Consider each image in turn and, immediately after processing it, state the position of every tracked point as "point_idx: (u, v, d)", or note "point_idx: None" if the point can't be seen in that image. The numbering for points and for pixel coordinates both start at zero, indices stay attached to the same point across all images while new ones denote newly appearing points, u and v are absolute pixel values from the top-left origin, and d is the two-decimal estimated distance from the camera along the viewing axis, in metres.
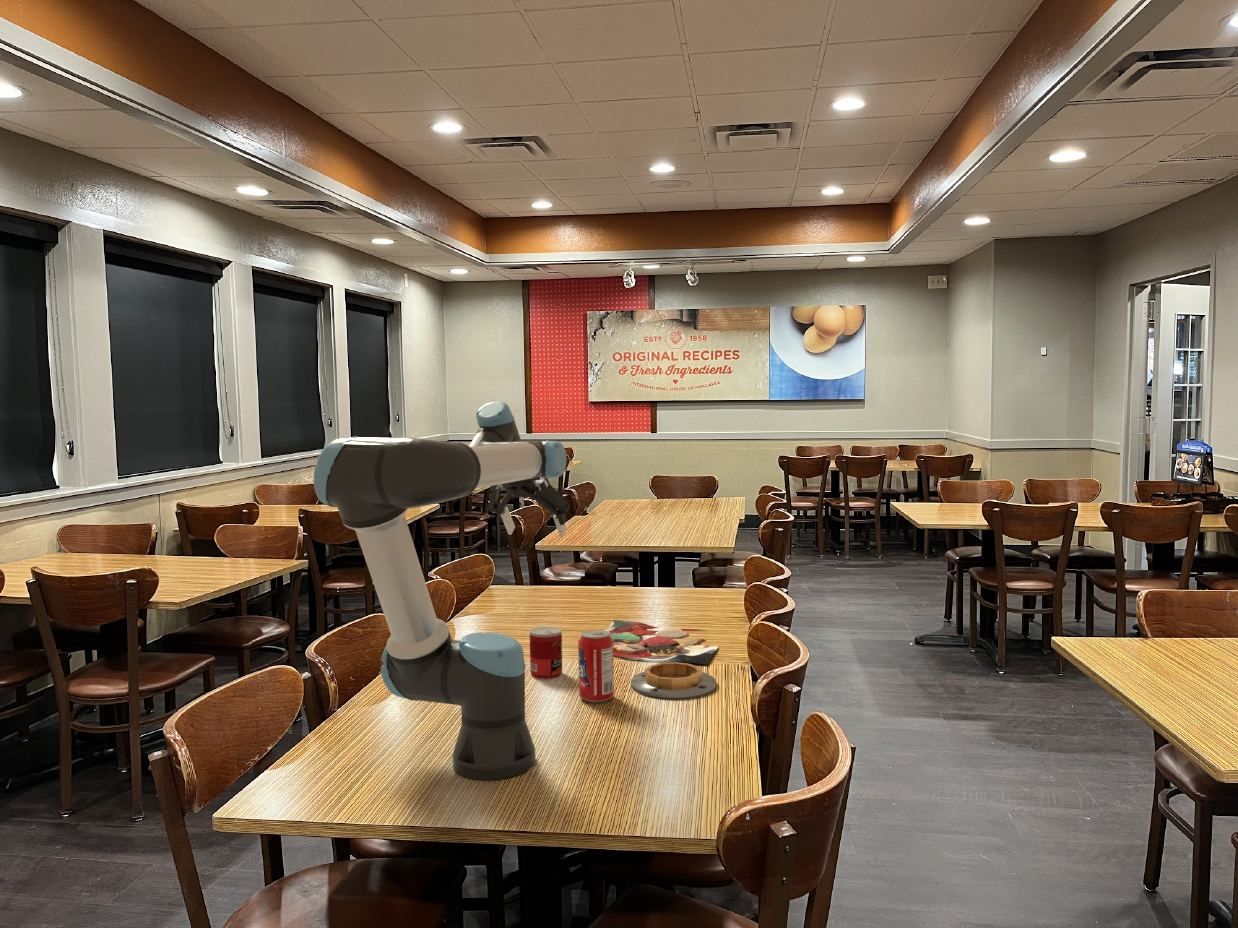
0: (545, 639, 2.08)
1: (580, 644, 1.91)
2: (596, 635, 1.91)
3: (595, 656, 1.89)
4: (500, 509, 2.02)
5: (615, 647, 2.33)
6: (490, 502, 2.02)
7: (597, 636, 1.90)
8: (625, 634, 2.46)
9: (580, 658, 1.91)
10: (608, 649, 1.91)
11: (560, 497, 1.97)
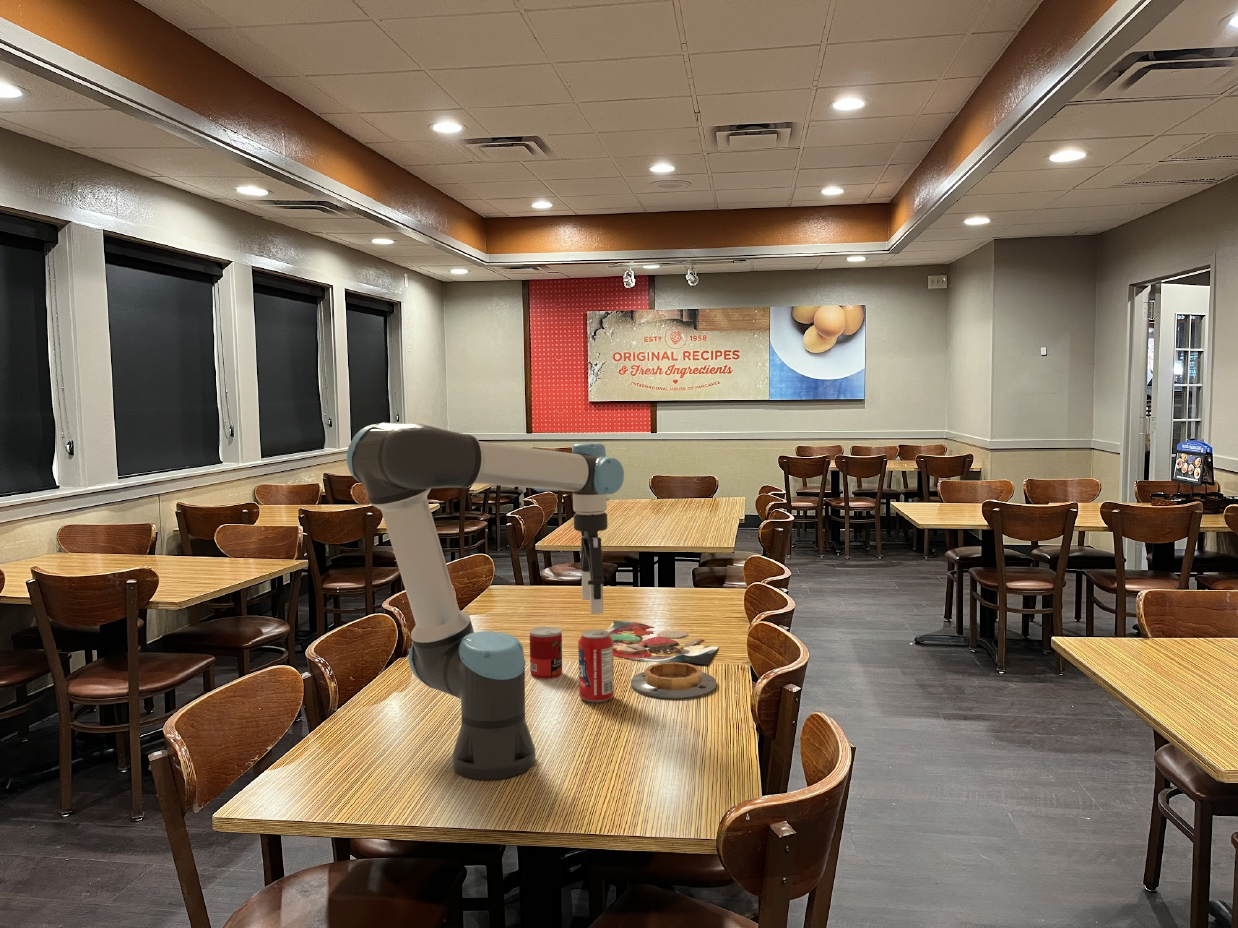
0: (545, 640, 2.08)
1: (580, 644, 1.91)
2: (596, 635, 1.91)
3: (595, 656, 1.89)
4: (582, 565, 1.99)
5: (615, 647, 2.33)
6: (581, 554, 2.01)
7: (597, 636, 1.90)
8: (625, 635, 2.46)
9: (580, 658, 1.91)
10: (608, 649, 1.91)
11: (600, 565, 1.84)
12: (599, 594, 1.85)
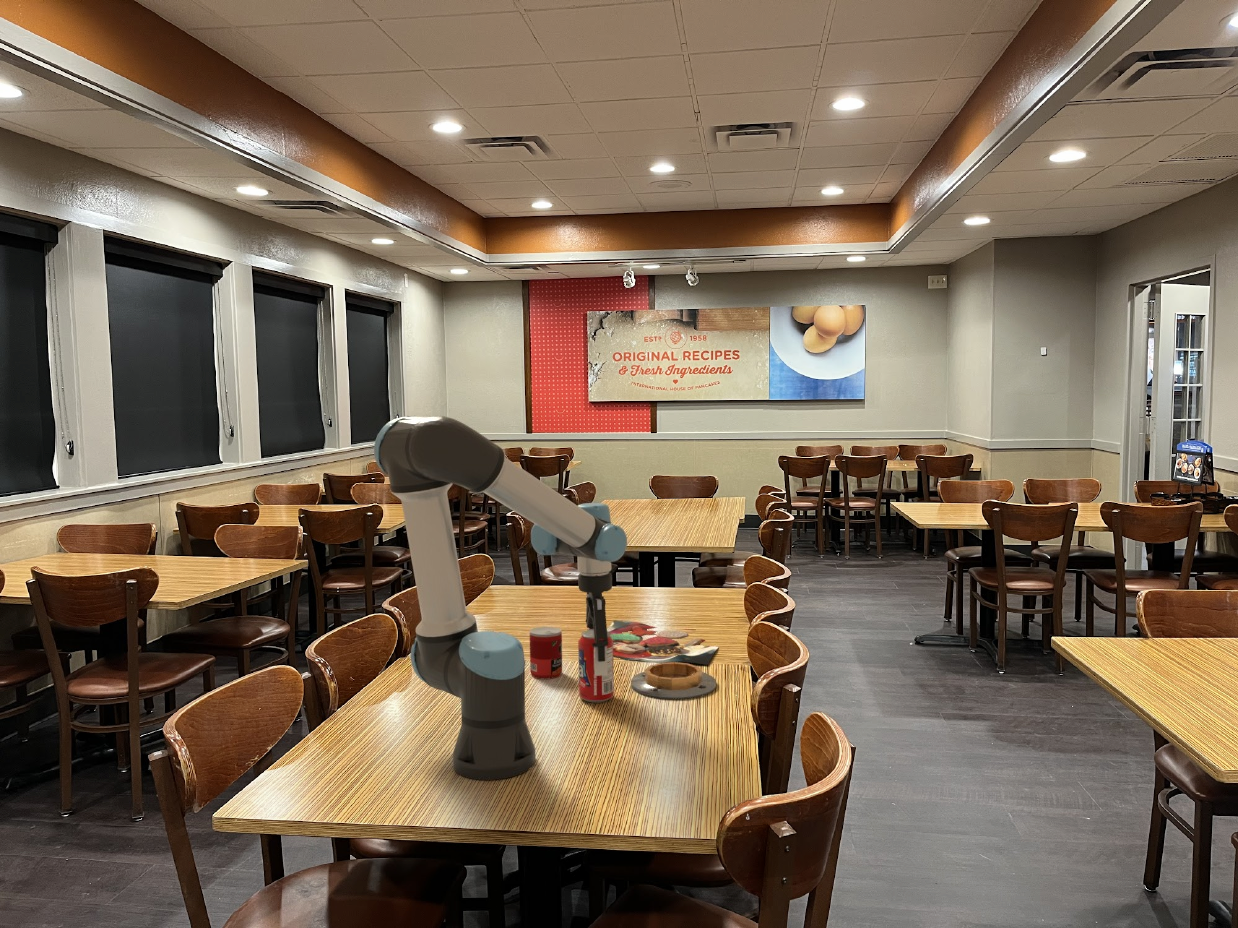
0: (545, 639, 2.08)
1: (580, 644, 1.91)
2: None
3: None
4: (587, 622, 2.00)
5: (615, 647, 2.33)
6: (586, 611, 2.01)
7: None
8: (625, 634, 2.46)
9: (580, 658, 1.91)
10: (608, 649, 1.91)
11: (604, 628, 1.84)
12: (603, 656, 1.85)
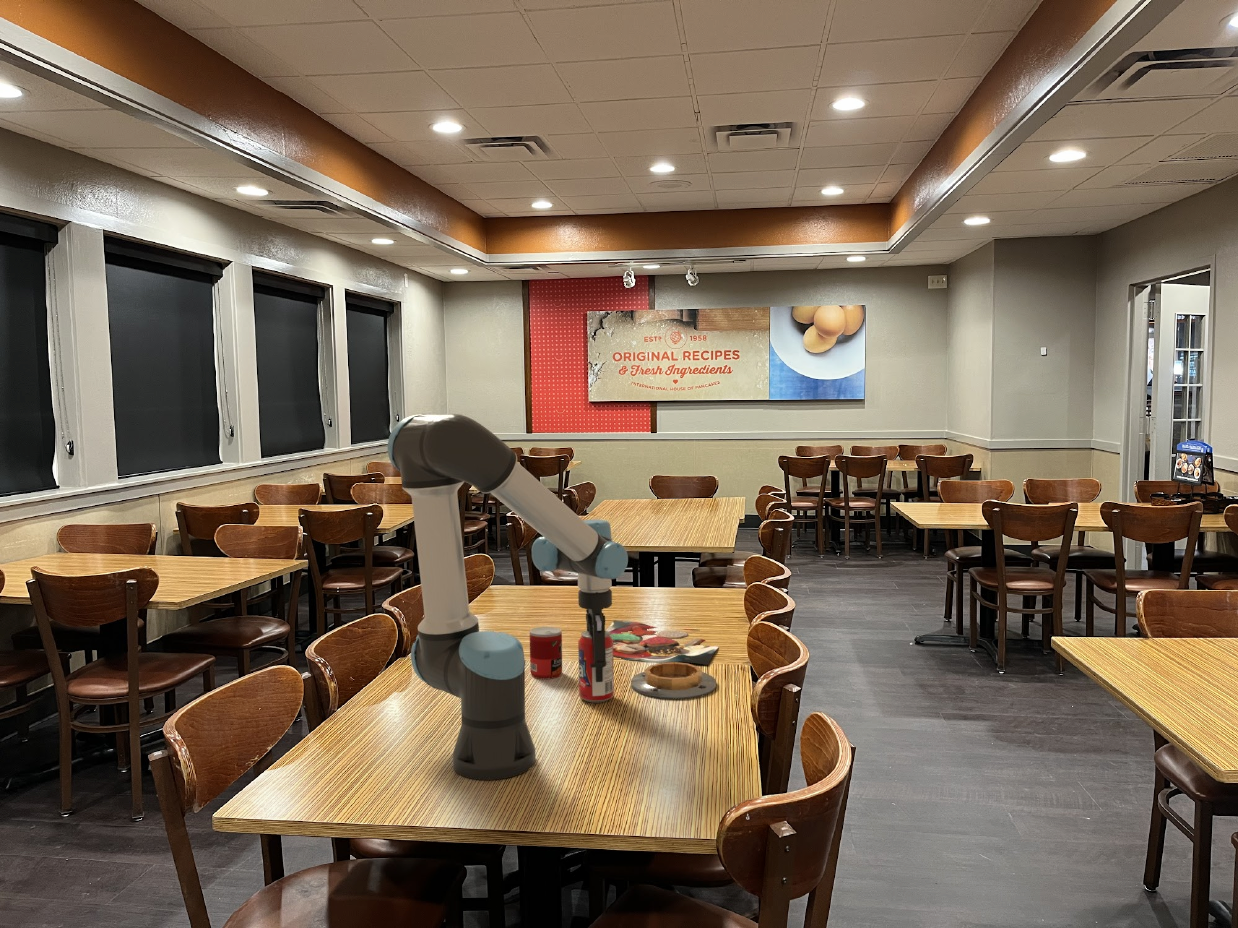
0: (545, 639, 2.08)
1: (580, 644, 1.91)
2: None
3: None
4: None
5: (614, 647, 2.33)
6: None
7: None
8: (625, 634, 2.46)
9: (580, 658, 1.91)
10: (608, 648, 1.90)
11: (603, 650, 1.86)
12: (601, 677, 1.88)
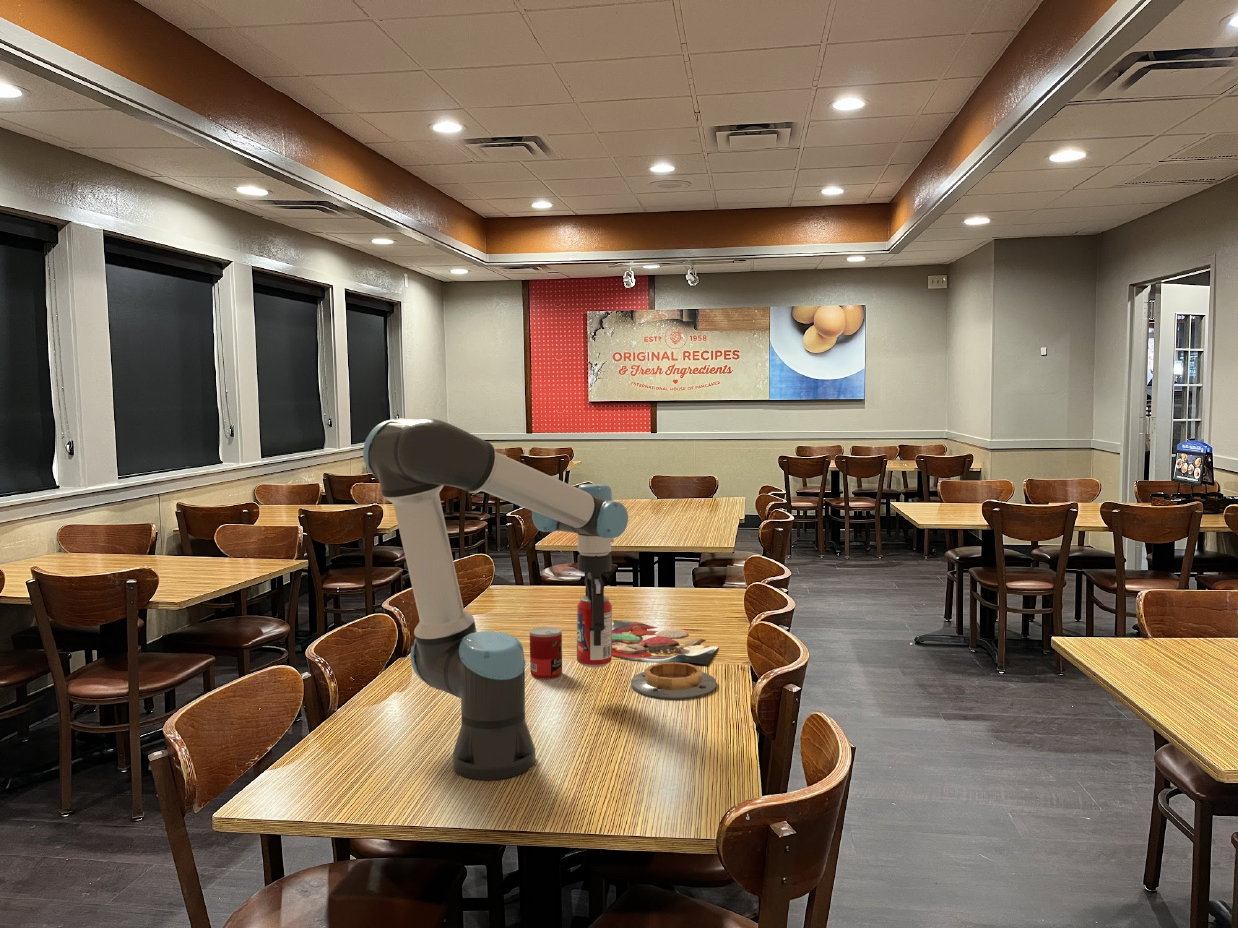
0: (545, 639, 2.08)
1: (579, 608, 1.90)
2: None
3: None
4: None
5: (614, 647, 2.32)
6: None
7: None
8: (625, 634, 2.46)
9: (578, 622, 1.91)
10: (607, 613, 1.90)
11: (601, 613, 1.85)
12: (599, 640, 1.87)
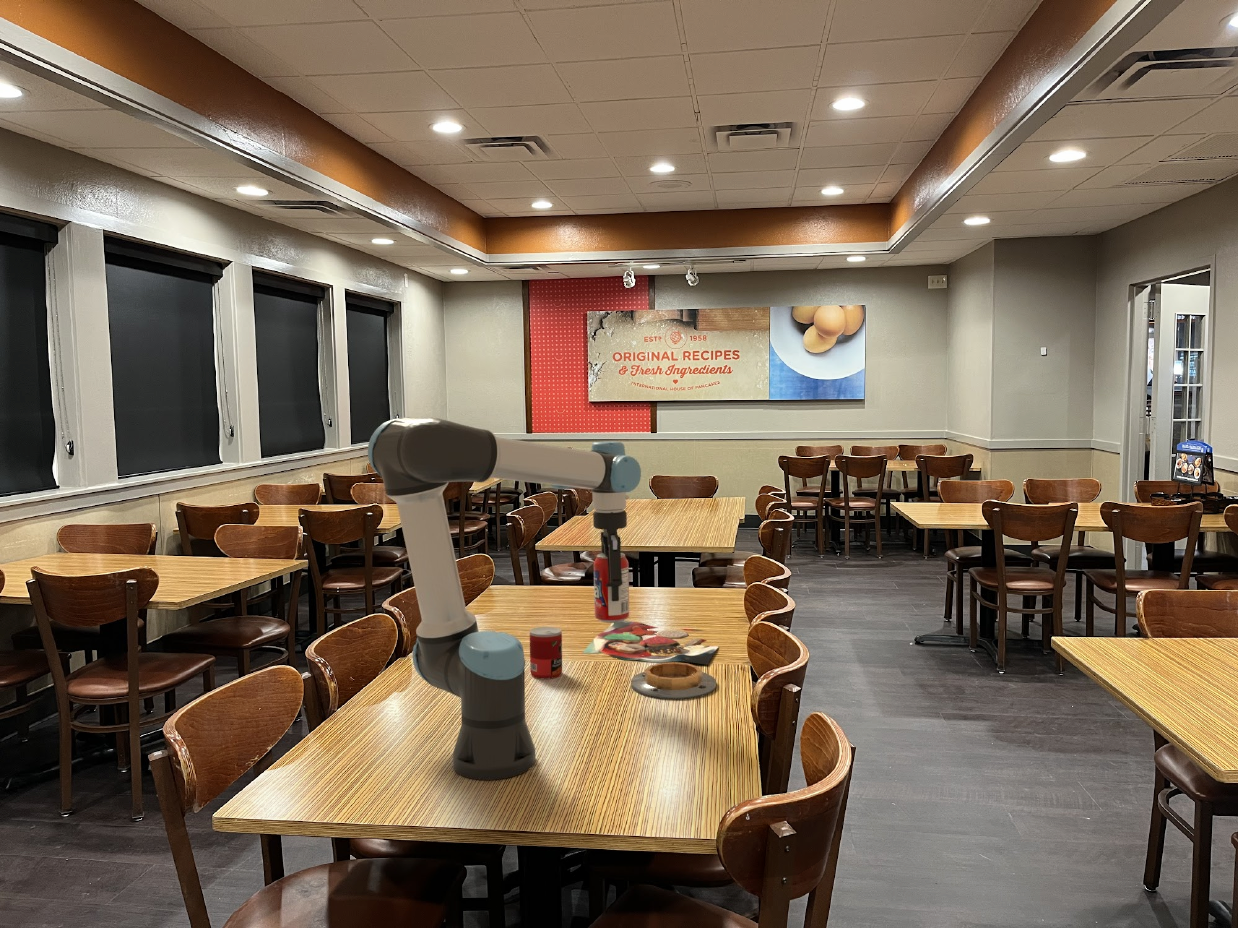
0: (545, 639, 2.08)
1: (596, 565, 1.92)
2: None
3: None
4: None
5: (614, 647, 2.32)
6: None
7: None
8: (625, 634, 2.46)
9: (596, 579, 1.92)
10: (624, 569, 1.91)
11: (619, 568, 1.87)
12: (617, 596, 1.89)
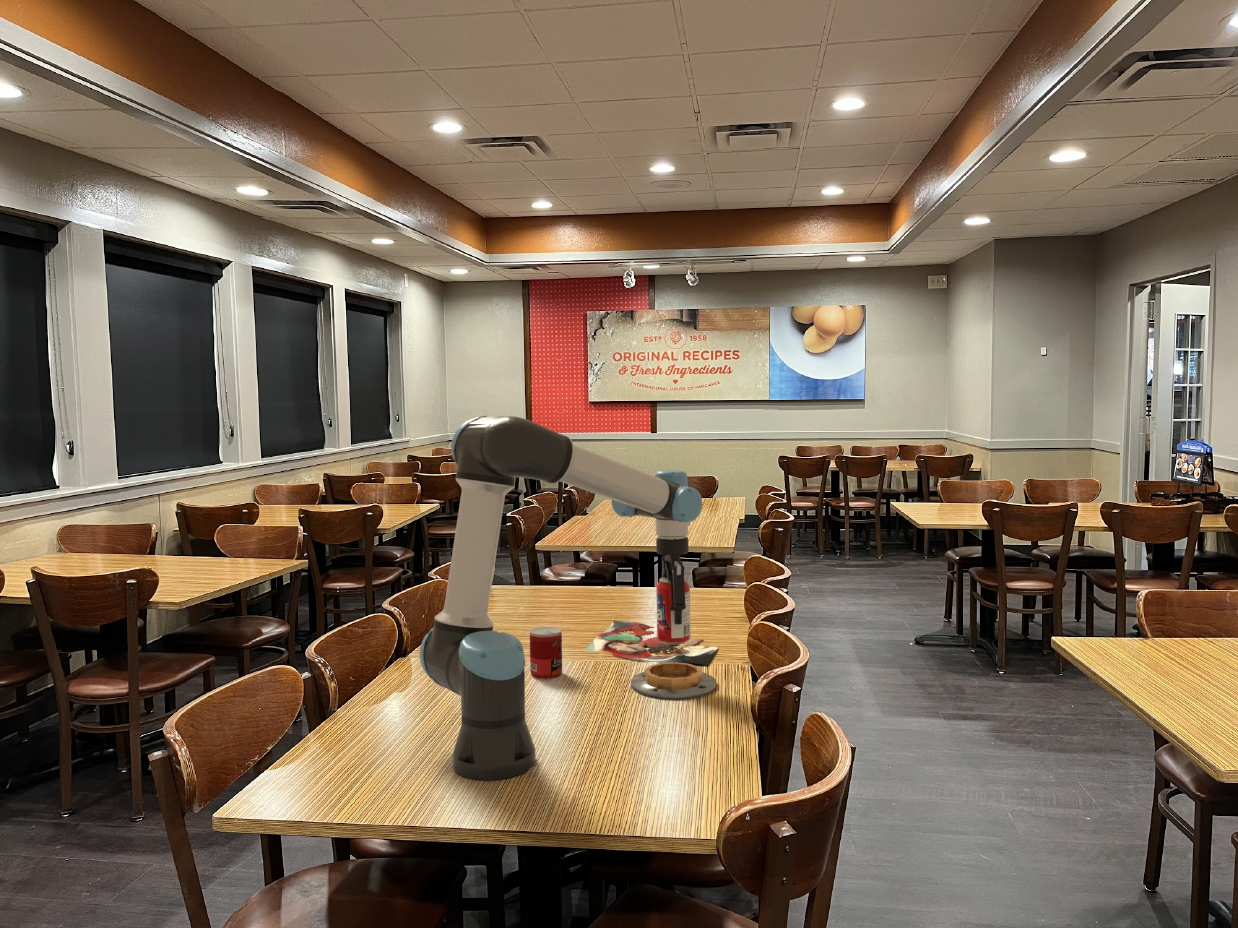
0: (545, 639, 2.08)
1: (659, 589, 1.99)
2: None
3: None
4: None
5: (614, 647, 2.32)
6: None
7: None
8: (625, 635, 2.46)
9: (659, 602, 2.00)
10: (686, 593, 1.99)
11: (682, 593, 1.94)
12: (680, 619, 1.96)
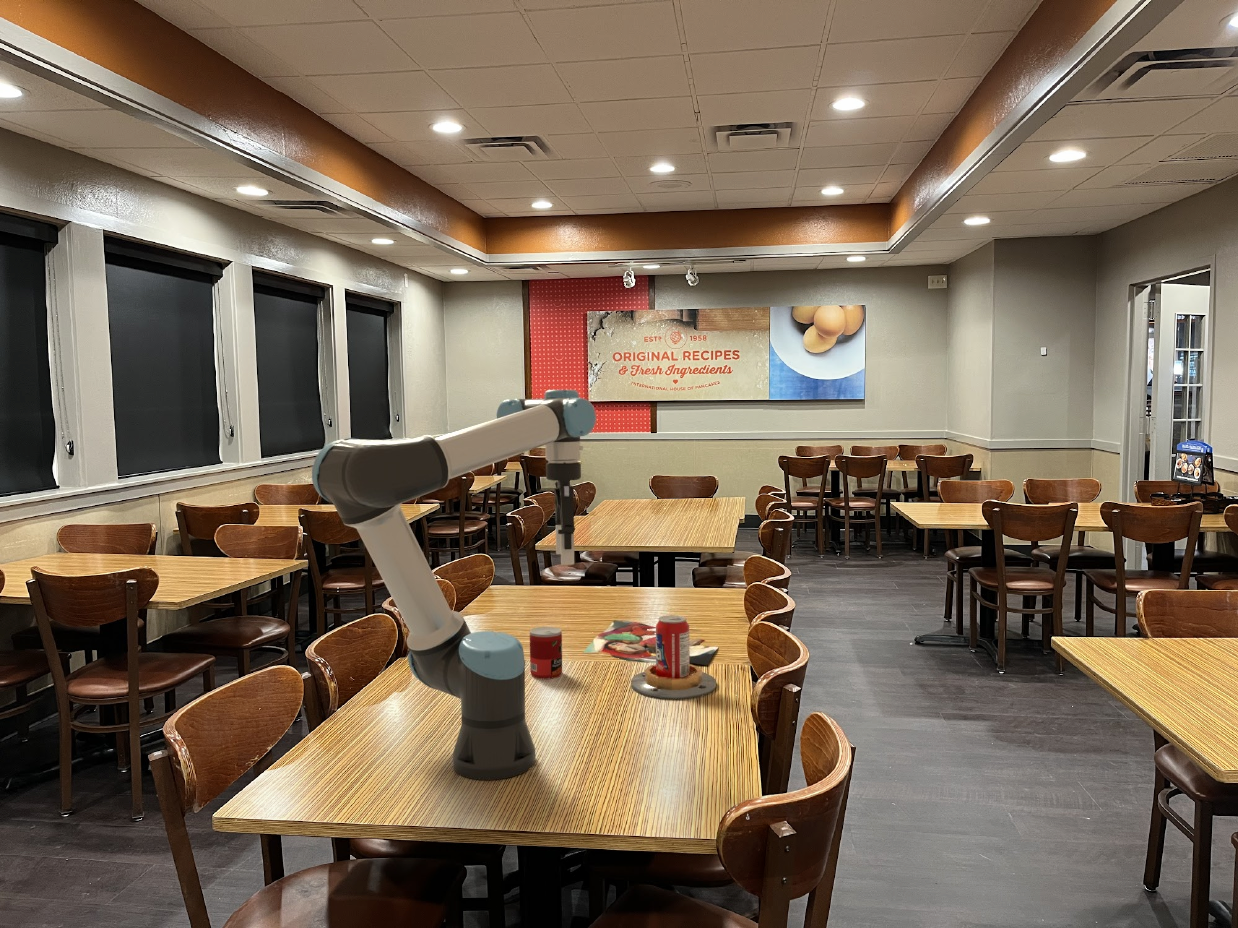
0: (545, 639, 2.08)
1: (658, 629, 2.00)
2: (673, 620, 2.00)
3: (673, 640, 1.98)
4: (556, 518, 1.93)
5: (614, 647, 2.32)
6: (555, 507, 1.95)
7: (675, 621, 1.99)
8: (625, 634, 2.46)
9: (658, 642, 2.00)
10: (685, 633, 1.99)
11: (571, 514, 1.78)
12: (570, 544, 1.78)
